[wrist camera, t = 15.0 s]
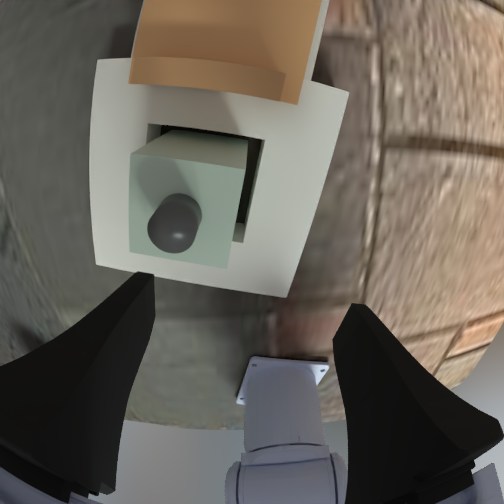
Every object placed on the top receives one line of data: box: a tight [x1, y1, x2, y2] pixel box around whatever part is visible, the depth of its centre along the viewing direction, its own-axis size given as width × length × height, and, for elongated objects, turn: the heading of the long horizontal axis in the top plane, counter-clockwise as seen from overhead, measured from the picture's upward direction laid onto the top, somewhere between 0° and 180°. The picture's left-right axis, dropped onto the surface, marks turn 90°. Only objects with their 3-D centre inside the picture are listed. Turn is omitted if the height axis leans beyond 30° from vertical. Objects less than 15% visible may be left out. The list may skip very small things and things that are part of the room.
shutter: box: [128, 0, 322, 105], centre depth 8 cm, size 8×8×3 cm
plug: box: [129, 130, 248, 269], centre depth 13 cm, size 4×4×8 cm
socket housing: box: [89, 0, 349, 298], centre depth 14 cm, size 19×13×2 cm
